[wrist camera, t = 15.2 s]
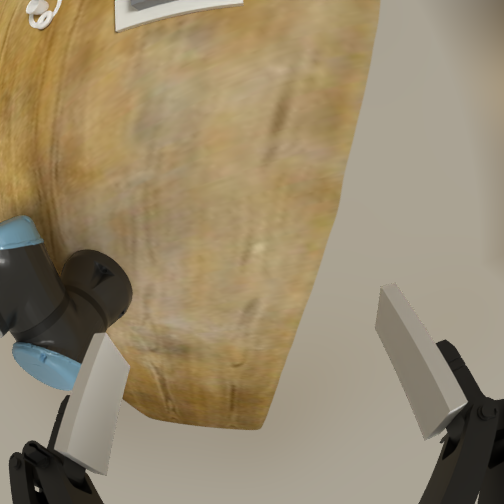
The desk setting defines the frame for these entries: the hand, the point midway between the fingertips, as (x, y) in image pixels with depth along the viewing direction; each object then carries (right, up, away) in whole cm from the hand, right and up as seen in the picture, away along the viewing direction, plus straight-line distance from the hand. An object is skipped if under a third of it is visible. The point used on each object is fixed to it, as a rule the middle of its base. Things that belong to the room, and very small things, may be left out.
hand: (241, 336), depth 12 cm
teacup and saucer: (-37, +44, +12) cm, 58 cm away
